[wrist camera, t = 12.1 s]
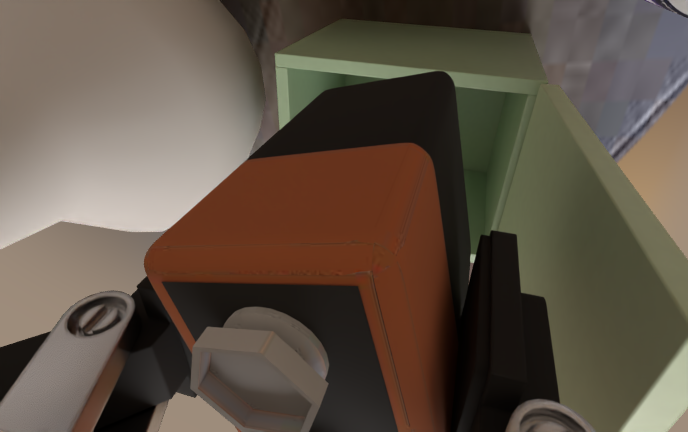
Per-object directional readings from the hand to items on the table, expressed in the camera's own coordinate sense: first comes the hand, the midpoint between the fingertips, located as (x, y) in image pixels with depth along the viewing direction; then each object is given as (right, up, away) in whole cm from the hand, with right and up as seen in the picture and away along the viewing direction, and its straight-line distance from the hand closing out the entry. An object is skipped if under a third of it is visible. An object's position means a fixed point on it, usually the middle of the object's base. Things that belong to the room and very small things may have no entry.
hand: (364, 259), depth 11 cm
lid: (+6, -1, +5) cm, 8 cm away
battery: (+1, +3, +4) cm, 5 cm away
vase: (-12, +14, +25) cm, 31 cm away
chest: (+5, +10, +22) cm, 25 cm away
